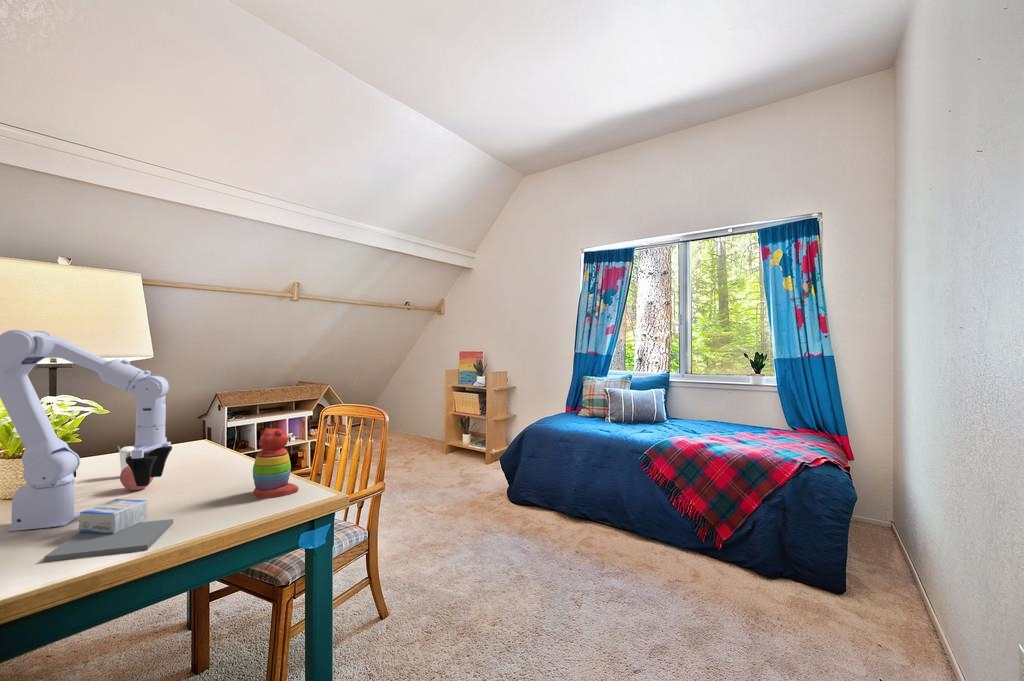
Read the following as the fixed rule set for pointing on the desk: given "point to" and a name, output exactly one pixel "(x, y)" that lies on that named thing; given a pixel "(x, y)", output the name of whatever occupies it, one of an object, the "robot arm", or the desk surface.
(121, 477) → the apple
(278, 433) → the stacking bear
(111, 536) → the mat
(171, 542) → the desk surface
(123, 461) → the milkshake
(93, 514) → the medicine box
